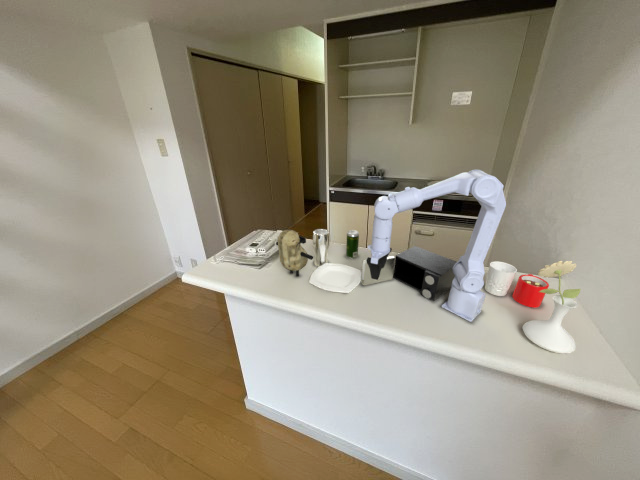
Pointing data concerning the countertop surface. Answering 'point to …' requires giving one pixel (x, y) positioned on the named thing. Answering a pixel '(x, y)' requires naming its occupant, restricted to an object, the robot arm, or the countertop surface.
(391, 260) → the microwave door
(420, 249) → the microwave
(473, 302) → the robot arm
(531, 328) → the flower in vase
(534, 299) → the mug
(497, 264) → the white cup
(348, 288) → the plate
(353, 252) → the beer can
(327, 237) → the silver metal tumbler
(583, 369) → the countertop surface
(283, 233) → the figurine
